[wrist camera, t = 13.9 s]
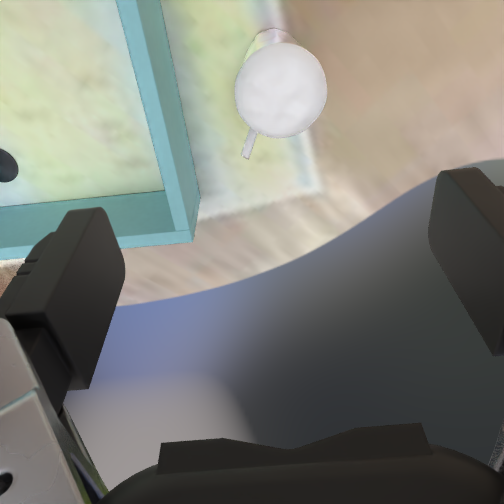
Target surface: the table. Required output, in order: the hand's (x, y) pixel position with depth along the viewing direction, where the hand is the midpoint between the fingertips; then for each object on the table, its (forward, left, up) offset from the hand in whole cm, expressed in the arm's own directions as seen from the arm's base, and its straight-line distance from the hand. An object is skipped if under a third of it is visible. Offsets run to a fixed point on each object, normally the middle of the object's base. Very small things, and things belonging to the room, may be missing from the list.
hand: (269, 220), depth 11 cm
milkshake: (+1, +1, -21) cm, 21 cm away
